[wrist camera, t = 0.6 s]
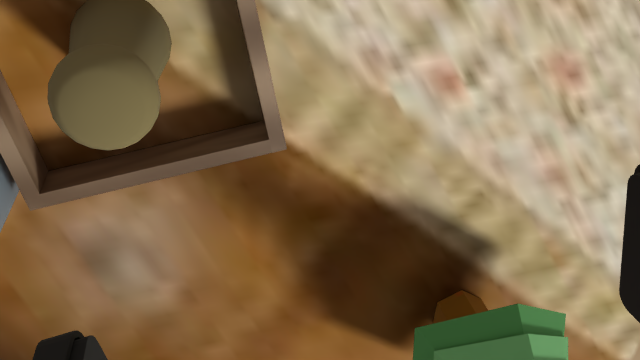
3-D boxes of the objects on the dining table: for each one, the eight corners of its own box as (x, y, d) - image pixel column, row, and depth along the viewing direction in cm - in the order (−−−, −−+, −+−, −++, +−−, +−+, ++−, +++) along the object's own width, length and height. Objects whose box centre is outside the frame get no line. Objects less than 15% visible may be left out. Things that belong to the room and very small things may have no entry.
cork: (64, -11, 34) (21, 46, 25) (170, -6, 36) (166, 51, 27) (74, 86, 37) (40, 169, 28) (172, 88, 39) (170, 168, 30)
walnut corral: (-91, -77, 31) (-115, -69, 29) (222, -137, 33) (225, -135, 30) (39, 186, 40) (30, 210, 38) (280, 130, 42) (286, 149, 39)
